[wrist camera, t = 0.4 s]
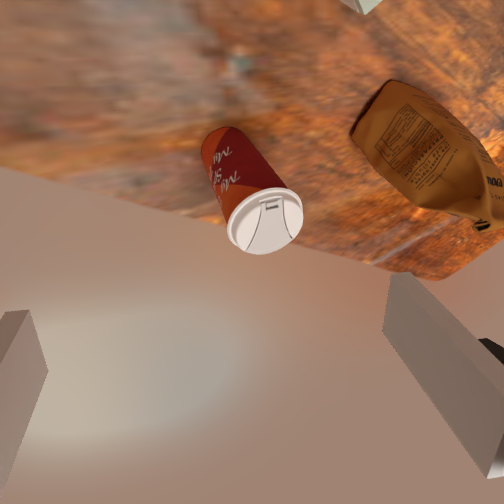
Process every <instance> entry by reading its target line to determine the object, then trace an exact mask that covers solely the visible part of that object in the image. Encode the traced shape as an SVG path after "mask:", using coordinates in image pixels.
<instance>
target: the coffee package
mask: <svg viewBox="0 0 504 504" xmlns="http://www.w3.org/2000/svg"><path fill="white" fill-rule="evenodd" d="M351 138H352V140H353V141H354V142H355V143H356V144H357V145H358V146H359V147H360V148H361V149H362V151H363V153H364V154H365V155H366V157H367V159H368V161H369V162H370V164H371V165H372V166H373V168H374V169H375V170H376V171H377V172H378V173H379V174H380V175H381V176H383V177H384V178H385V179H386V180H387V181H388V182H390V183H391V184H392V185H393V186H394V187H395V188H396V189H397V190H398V191H399V192H400V193H402V194H403V195H404V196H405V197H406V198H407V199H408V200H409V201H411V202H412V203H413V204H414V205H415V206H417V207H420V208H423V209H427V210H432V211H440V212H445V213H448V214H451V215H455V216H460V217H464V218H469V219H475V220H479V221H477V222H475V223H474V225H473V226H472V228H473V230H475V231H478V232H487V231H491V230H496V229H500V228H504V176H503V175H502V174H501V172H500V170H499V169H498V168H497V167H496V165H495V164H494V162H493V161H492V159H491V157H490V156H489V154H488V153H487V151H486V150H485V148H484V147H483V145H482V144H481V143H480V141H479V140H478V139H477V138H476V137H475V136H474V135H473V134H472V133H471V132H470V131H469V130H468V129H467V128H466V127H465V126H464V125H463V124H462V123H461V122H460V121H459V120H458V119H457V118H456V117H454V116H453V115H452V114H451V113H450V112H449V111H448V110H447V109H445V108H444V107H443V106H442V105H440V104H439V103H438V102H436V101H435V100H434V99H432V98H431V97H430V96H428V95H427V94H425V93H424V92H422V91H420V90H418V89H416V88H414V87H412V86H409V85H406V84H404V83H401V82H398V81H394V80H392V81H390V82H388V83H387V84H386V85H385V86H384V87H383V89H382V91H381V92H380V94H379V95H378V96H377V98H376V99H375V101H374V102H373V104H372V105H371V107H370V109H369V110H368V111H367V113H366V114H365V115H364V116H363V117H362V119H361V120H360V121H359V122H358V124H357V126H356V128H355V131H354V133H353V134H352V136H351Z"/></svg>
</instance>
